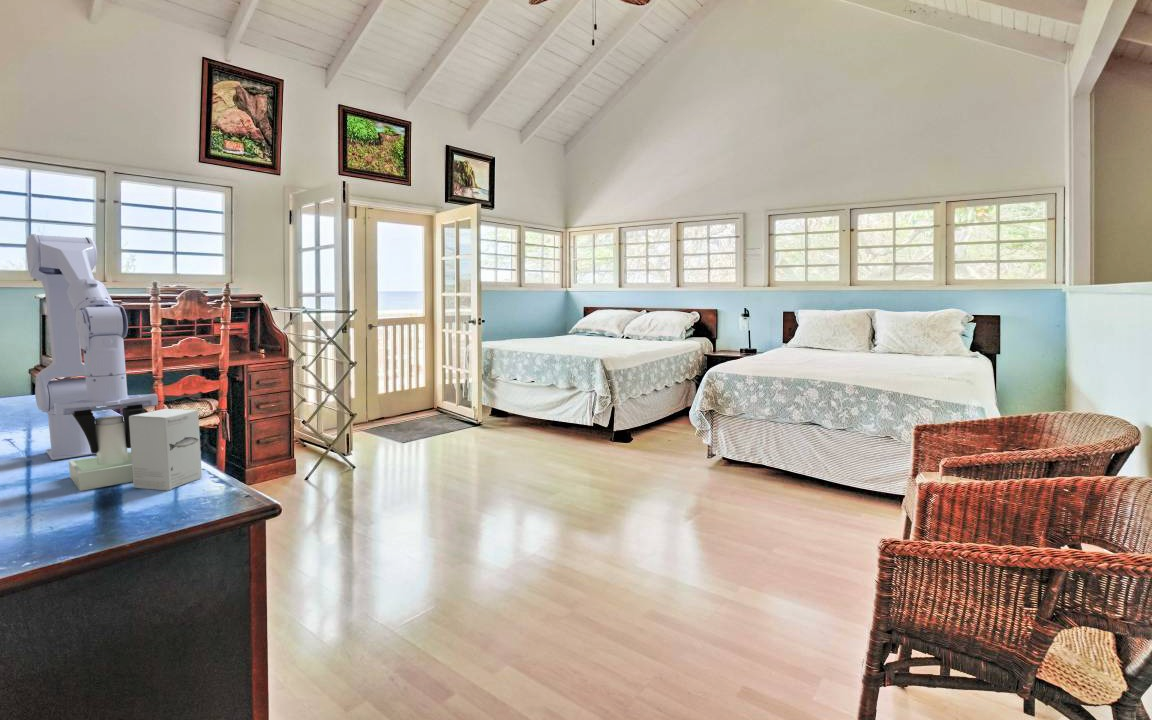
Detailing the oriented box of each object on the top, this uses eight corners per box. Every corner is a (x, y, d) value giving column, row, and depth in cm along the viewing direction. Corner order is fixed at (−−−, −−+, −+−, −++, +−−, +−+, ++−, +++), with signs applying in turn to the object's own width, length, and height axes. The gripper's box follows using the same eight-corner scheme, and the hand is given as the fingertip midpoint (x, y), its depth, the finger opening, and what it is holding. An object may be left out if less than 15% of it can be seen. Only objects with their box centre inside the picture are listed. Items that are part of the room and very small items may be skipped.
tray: (70, 477, 110) (68, 460, 109) (143, 464, 118) (142, 449, 117) (79, 490, 102) (78, 473, 102) (157, 477, 110) (156, 460, 110)
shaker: (94, 461, 109) (90, 418, 109) (124, 457, 113) (121, 414, 112) (100, 466, 106) (96, 421, 106) (130, 461, 110) (127, 417, 109)
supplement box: (168, 491, 102) (163, 417, 101) (132, 488, 104) (126, 415, 102) (203, 478, 109) (199, 409, 108) (168, 475, 111) (164, 407, 110)
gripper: (55, 380, 100) (62, 461, 101) (160, 372, 110) (165, 446, 112) (49, 376, 105) (56, 453, 106) (150, 369, 115) (155, 439, 117)
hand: (111, 449), depth 109 cm, fingers closed on shaker, 4 cm apart
